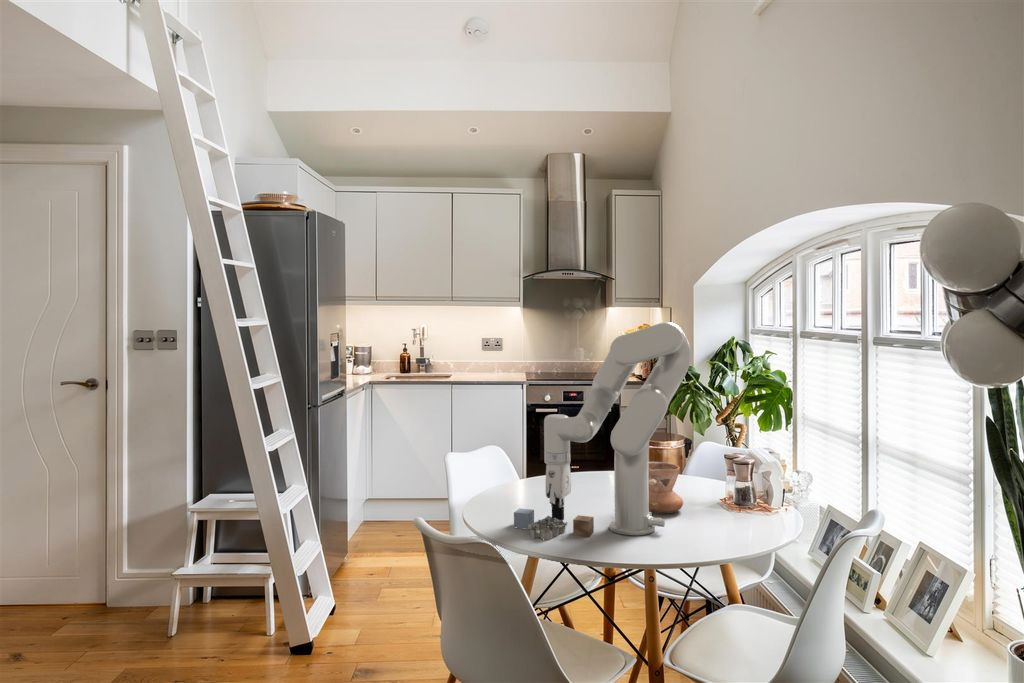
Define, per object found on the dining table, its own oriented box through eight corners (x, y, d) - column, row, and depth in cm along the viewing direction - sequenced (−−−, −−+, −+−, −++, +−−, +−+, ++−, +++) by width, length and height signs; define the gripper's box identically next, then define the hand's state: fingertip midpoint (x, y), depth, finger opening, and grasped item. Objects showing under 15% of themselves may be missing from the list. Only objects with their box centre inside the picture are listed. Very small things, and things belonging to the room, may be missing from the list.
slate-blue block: (534, 525, 185) (534, 509, 185) (528, 529, 181) (528, 513, 181) (519, 523, 187) (519, 508, 187) (514, 528, 183) (513, 512, 183)
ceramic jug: (675, 521, 188) (676, 472, 188) (627, 514, 194) (628, 467, 194) (689, 507, 203) (689, 462, 203) (644, 501, 210) (644, 458, 210)
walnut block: (593, 533, 178) (593, 516, 178) (589, 537, 173) (589, 521, 173) (578, 531, 179) (577, 515, 179) (573, 535, 175) (573, 519, 175)
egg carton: (546, 542, 171) (546, 527, 171) (525, 536, 176) (524, 522, 175) (570, 532, 179) (570, 518, 179) (548, 527, 184) (548, 513, 184)
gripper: (561, 463, 177) (561, 529, 178) (577, 453, 191) (578, 514, 191) (535, 461, 180) (536, 526, 181) (553, 452, 194) (554, 512, 194)
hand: (557, 520), depth 186 cm, fingers closed
